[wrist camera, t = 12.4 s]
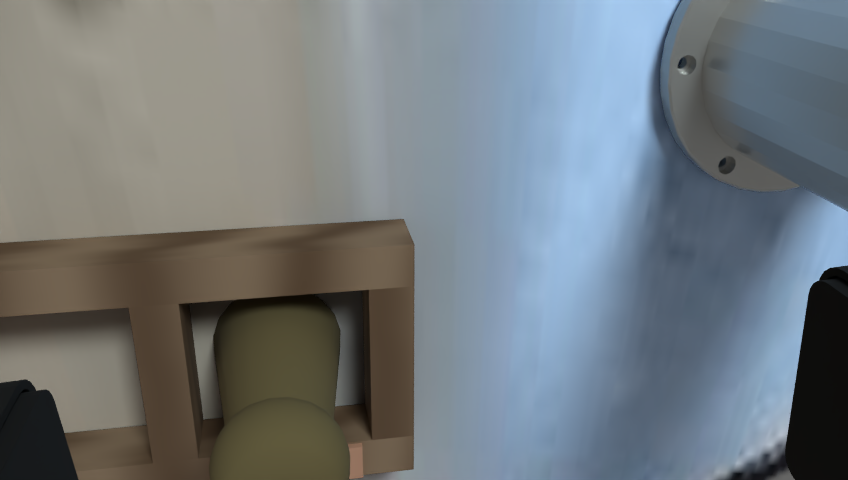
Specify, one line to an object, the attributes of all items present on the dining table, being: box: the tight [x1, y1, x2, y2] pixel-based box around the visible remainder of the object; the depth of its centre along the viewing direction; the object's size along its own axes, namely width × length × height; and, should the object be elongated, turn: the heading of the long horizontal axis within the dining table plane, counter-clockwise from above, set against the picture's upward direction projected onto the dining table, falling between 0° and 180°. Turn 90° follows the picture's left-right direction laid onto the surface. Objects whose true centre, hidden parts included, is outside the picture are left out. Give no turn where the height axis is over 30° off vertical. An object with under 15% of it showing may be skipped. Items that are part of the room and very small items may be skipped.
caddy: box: [0, 219, 414, 480], centre depth 36 cm, size 22×12×3 cm, turn 89°
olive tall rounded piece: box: [209, 294, 350, 480], centre depth 33 cm, size 6×6×11 cm
